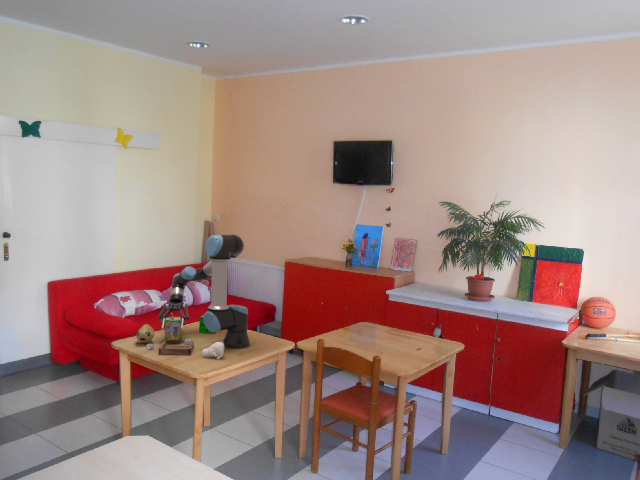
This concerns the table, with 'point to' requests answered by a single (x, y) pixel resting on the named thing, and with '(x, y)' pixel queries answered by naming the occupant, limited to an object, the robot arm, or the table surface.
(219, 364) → the table surface
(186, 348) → the brown tray holder
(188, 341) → the grey clip
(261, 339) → the table surface
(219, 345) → the white lumpy piece
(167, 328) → the chalk box
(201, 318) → the puzzle cube
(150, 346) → the grey clip
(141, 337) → the tan toy creature
